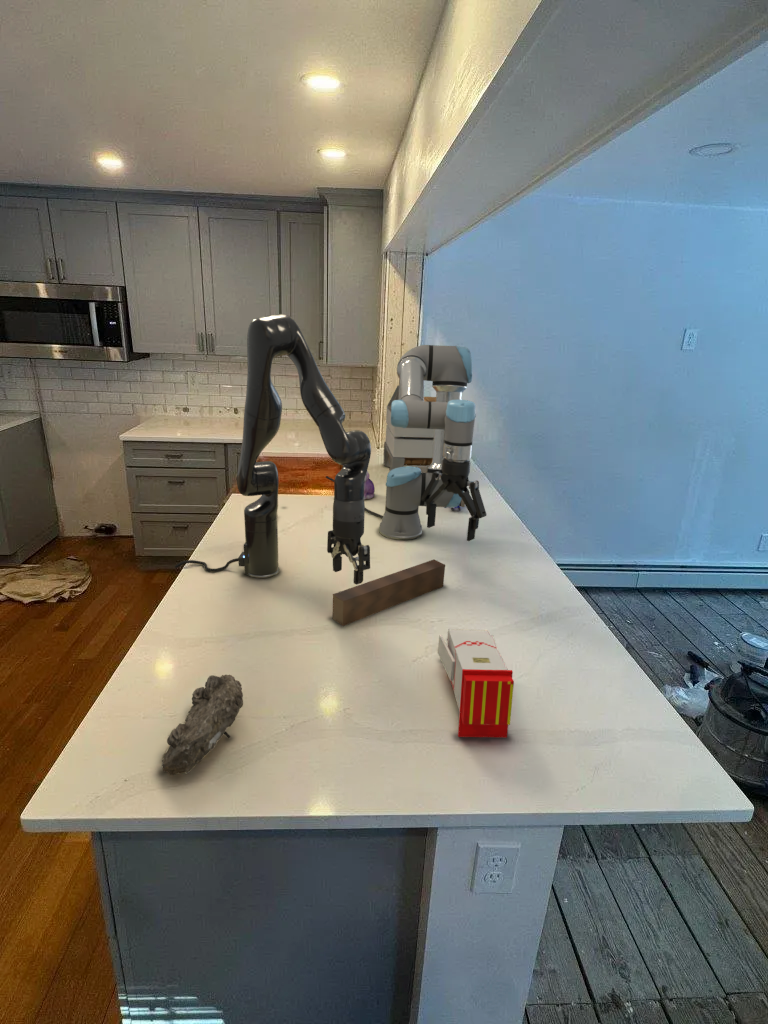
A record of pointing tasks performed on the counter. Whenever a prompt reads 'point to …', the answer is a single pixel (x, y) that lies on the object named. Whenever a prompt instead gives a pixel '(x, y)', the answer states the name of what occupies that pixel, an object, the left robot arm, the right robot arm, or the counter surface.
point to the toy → (478, 682)
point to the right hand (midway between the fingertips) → (450, 532)
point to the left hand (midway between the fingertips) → (347, 577)
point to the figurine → (368, 487)
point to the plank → (387, 592)
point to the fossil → (203, 723)
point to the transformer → (407, 442)
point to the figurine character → (459, 505)
